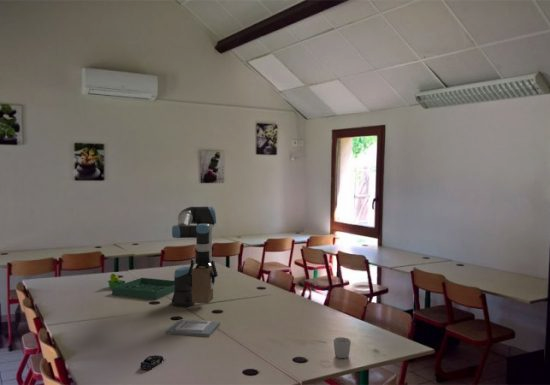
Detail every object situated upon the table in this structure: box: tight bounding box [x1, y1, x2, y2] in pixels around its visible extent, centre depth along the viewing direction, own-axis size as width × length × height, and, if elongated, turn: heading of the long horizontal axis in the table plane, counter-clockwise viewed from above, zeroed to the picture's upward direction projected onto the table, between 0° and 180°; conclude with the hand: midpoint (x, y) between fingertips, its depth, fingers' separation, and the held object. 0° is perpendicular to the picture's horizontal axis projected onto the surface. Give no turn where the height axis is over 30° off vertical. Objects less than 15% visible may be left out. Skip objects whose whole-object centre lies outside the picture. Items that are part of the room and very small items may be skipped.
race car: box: [139, 354, 167, 371], centre depth 222 cm, size 15×7×4 cm, turn 167°
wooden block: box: [192, 266, 214, 305], centre depth 289 cm, size 10×10×20 cm
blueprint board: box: [165, 319, 221, 337], centre depth 271 cm, size 24×20×2 cm
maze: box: [111, 277, 174, 300], centre depth 351 cm, size 35×35×6 cm
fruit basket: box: [107, 273, 126, 289], centre depth 359 cm, size 11×9×11 cm
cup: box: [333, 336, 352, 359], centre depth 234 cm, size 11×8×8 cm
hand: (202, 288), depth 289 cm, fingers closed on wooden block, 10 cm apart
